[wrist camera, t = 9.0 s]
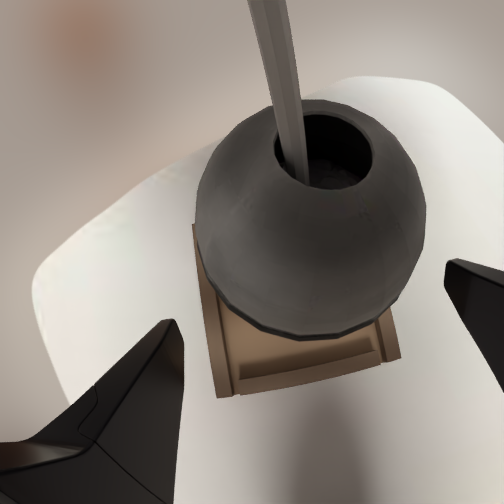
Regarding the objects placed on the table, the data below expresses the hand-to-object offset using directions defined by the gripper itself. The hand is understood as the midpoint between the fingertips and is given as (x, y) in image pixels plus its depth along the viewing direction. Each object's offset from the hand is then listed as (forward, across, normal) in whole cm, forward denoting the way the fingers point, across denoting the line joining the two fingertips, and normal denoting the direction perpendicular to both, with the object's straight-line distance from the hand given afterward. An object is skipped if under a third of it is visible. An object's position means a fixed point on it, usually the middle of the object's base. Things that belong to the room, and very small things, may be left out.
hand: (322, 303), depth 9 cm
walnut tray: (+10, 0, +6) cm, 12 cm away
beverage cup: (+10, 0, +6) cm, 12 cm away
